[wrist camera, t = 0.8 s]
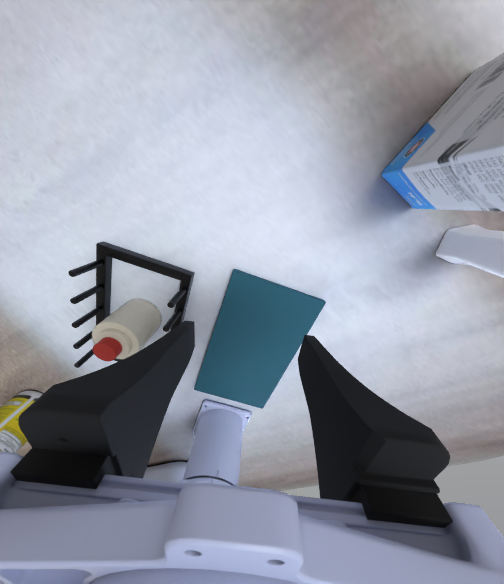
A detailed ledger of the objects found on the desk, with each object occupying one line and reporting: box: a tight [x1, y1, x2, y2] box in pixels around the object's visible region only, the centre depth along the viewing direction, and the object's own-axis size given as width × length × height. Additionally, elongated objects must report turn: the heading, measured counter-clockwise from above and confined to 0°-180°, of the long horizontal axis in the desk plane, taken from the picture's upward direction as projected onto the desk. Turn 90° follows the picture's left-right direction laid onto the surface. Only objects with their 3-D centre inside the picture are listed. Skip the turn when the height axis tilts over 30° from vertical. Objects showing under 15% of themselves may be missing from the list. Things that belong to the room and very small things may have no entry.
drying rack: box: [69, 242, 194, 368], centre depth 22 cm, size 16×10×4 cm, turn 160°
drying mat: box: [194, 269, 326, 408], centre depth 26 cm, size 20×11×1 cm, turn 160°
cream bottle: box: [92, 299, 161, 361], centre depth 21 cm, size 5×5×7 cm
